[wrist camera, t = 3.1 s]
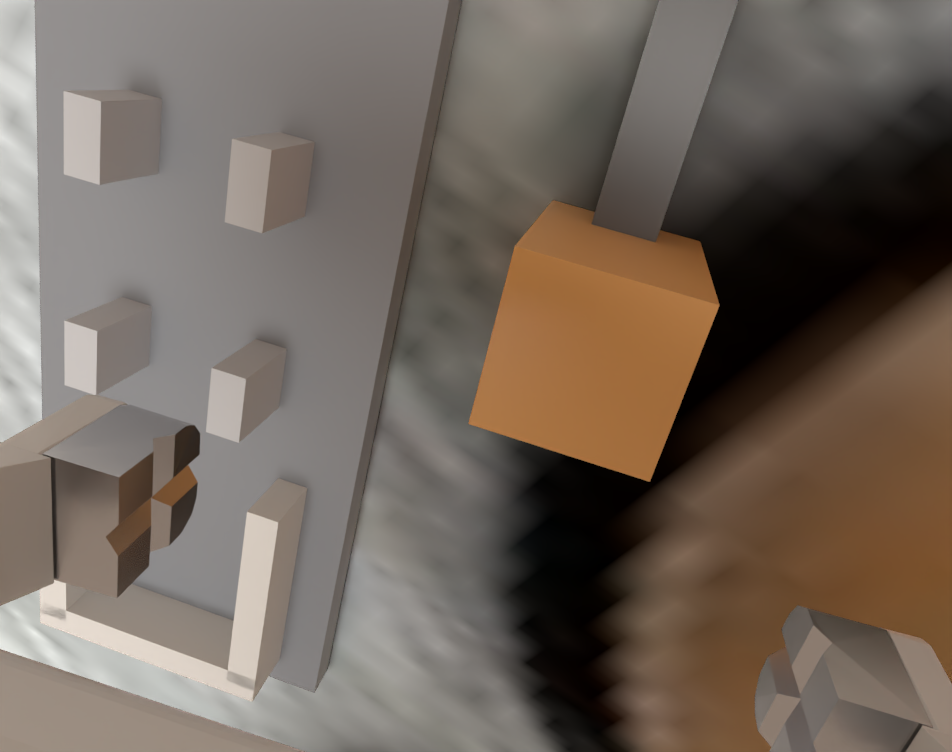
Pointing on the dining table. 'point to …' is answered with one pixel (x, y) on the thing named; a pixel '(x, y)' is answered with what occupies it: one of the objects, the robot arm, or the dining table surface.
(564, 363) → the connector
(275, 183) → the clip board
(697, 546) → the dining table surface
